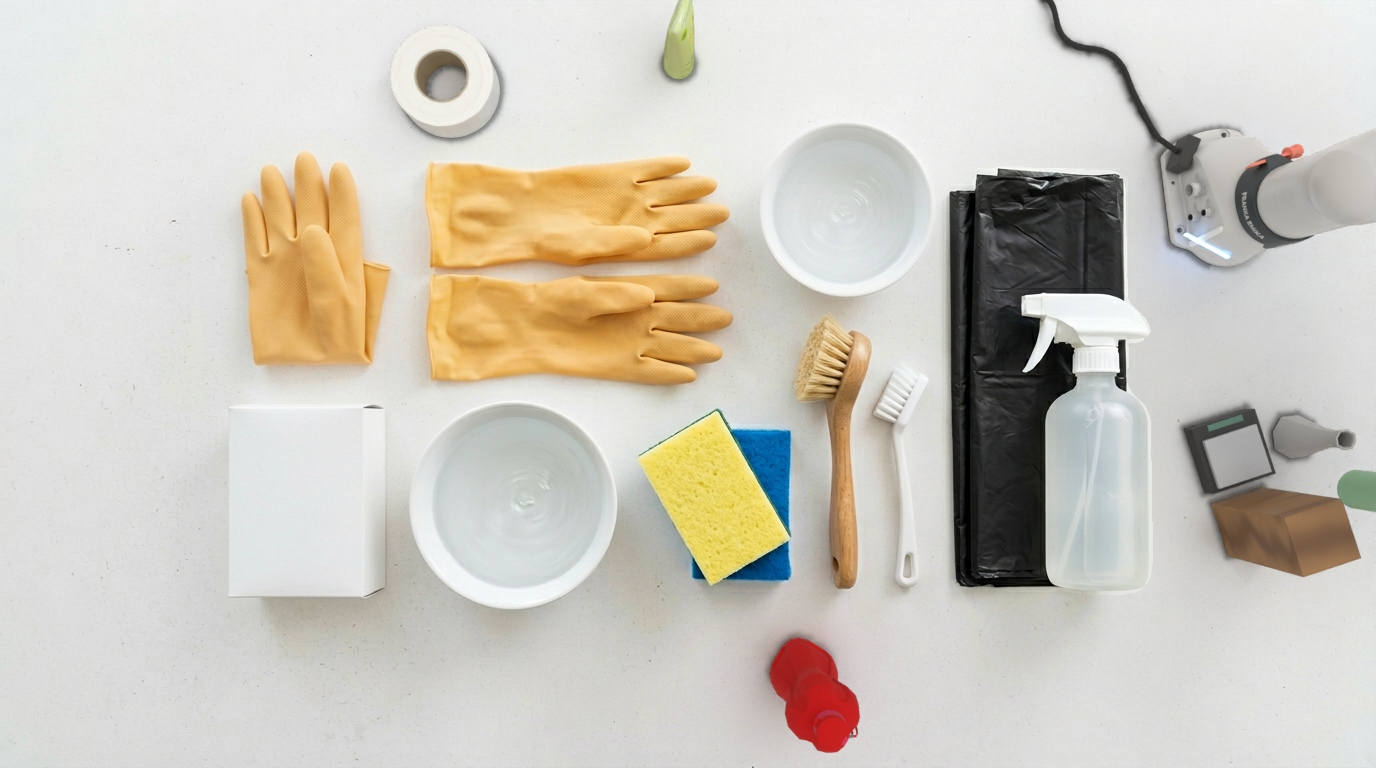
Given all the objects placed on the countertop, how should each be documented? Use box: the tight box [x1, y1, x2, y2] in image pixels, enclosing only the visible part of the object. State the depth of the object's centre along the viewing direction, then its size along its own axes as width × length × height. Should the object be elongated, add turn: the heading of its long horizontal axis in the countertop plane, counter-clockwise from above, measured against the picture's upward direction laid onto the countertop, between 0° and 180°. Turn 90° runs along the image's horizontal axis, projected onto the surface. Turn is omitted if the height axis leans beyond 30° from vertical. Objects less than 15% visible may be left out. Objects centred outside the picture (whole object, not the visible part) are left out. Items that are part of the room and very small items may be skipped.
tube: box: [662, 0, 695, 80], centre depth 115 cm, size 6×5×20 cm
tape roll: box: [389, 24, 501, 139], centre depth 121 cm, size 16×16×6 cm
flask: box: [1272, 414, 1357, 459], centre depth 121 cm, size 7×7×10 cm
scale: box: [1183, 408, 1277, 495], centre depth 124 cm, size 11×11×3 cm
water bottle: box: [769, 637, 861, 754], centre depth 111 cm, size 9×11×25 cm
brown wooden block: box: [1210, 486, 1362, 578], centre depth 118 cm, size 9×9×15 cm
